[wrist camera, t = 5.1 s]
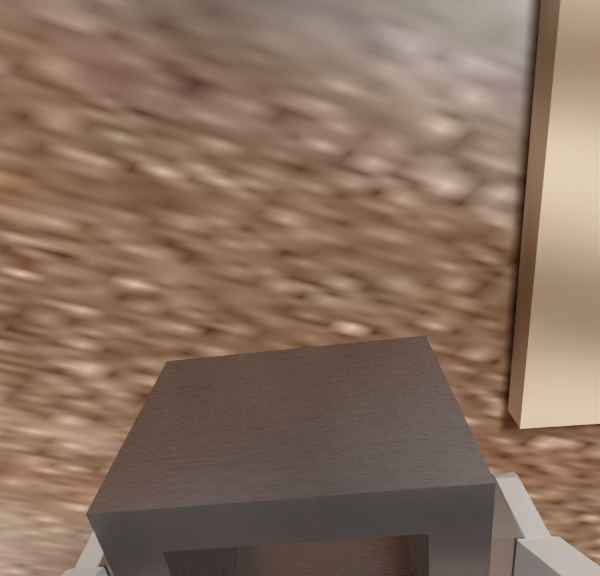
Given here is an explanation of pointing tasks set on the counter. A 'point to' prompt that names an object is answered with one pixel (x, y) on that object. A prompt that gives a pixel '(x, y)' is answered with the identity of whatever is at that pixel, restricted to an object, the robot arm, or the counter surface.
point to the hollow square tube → (299, 469)
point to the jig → (561, 228)
